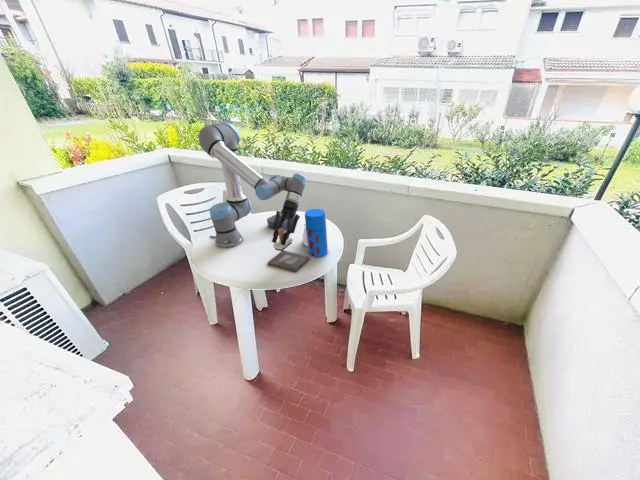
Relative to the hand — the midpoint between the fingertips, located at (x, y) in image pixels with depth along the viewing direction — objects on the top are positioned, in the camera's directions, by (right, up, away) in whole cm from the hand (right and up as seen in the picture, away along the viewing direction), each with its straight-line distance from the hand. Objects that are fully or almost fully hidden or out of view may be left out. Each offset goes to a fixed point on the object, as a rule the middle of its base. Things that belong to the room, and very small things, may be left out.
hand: (278, 243), depth 146 cm
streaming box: (-10, +16, +47) cm, 51 cm away
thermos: (+19, -4, +18) cm, 26 cm away
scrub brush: (+2, -1, +5) cm, 5 cm away
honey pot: (+14, +3, +28) cm, 32 cm away
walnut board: (+3, -9, +9) cm, 14 cm away
